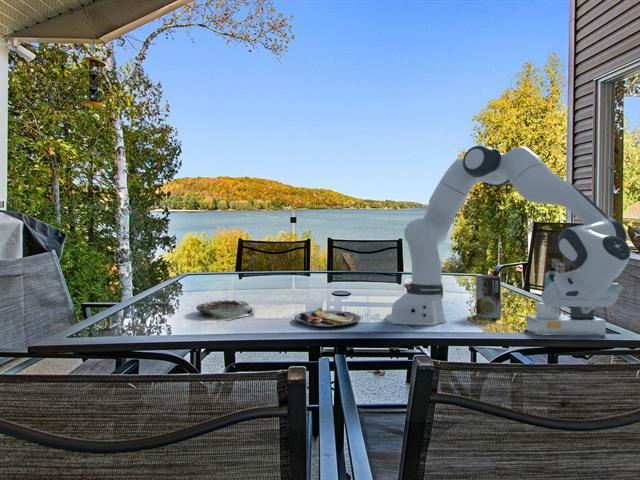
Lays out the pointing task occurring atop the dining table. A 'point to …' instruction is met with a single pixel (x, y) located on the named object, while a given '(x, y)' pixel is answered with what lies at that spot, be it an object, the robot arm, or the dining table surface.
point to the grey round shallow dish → (224, 310)
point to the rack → (567, 324)
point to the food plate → (327, 318)
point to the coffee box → (488, 296)
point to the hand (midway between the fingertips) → (568, 311)
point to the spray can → (551, 279)
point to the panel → (545, 312)
